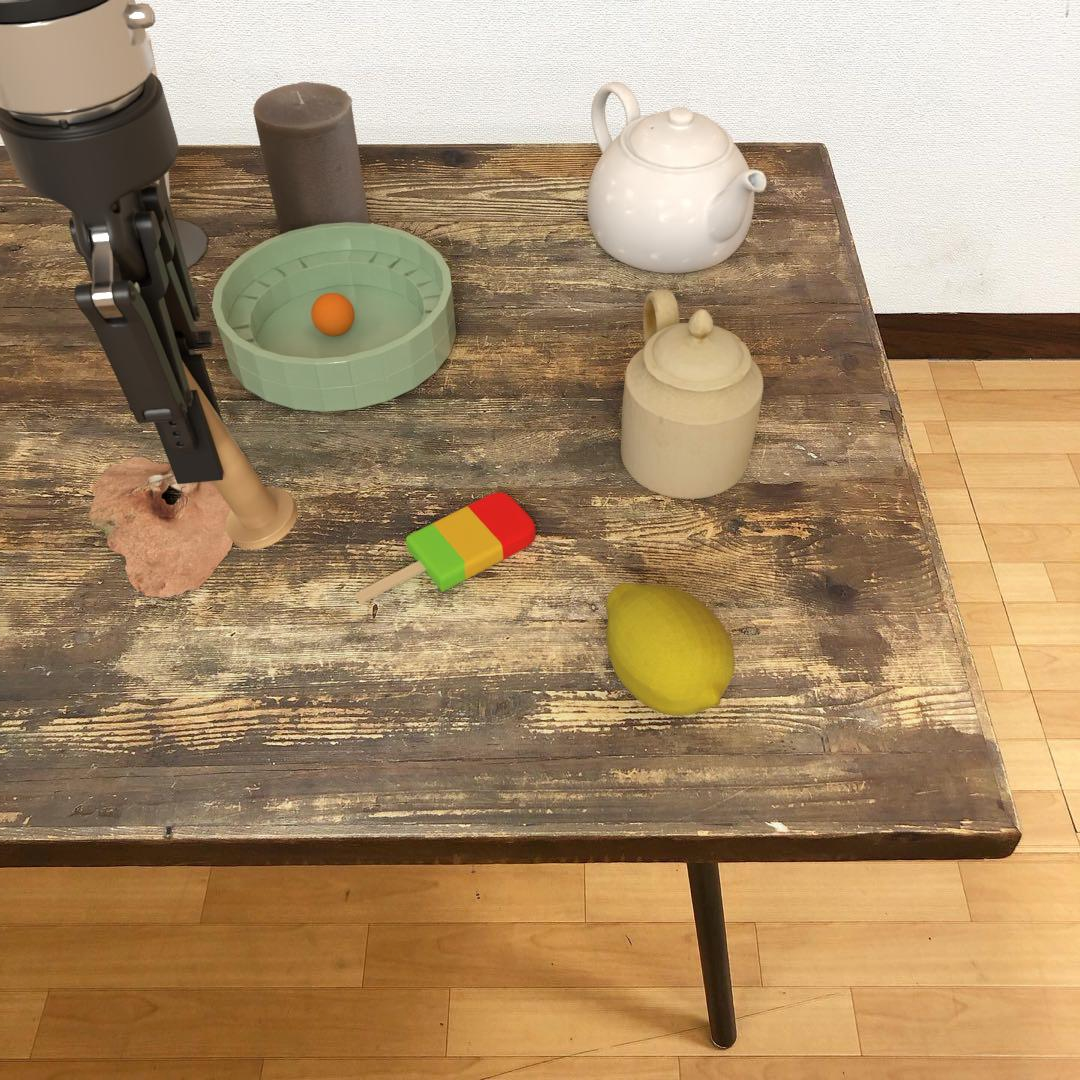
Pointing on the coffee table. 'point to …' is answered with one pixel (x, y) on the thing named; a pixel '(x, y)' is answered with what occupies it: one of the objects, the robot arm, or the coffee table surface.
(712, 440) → the sugar bowl
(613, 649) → the lemon
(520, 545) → the popsicle
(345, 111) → the pillar candle
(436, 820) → the coffee table surface
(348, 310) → the ball
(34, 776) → the coffee table surface
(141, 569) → the clay slab
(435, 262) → the bowl
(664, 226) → the teapot
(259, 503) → the stick
